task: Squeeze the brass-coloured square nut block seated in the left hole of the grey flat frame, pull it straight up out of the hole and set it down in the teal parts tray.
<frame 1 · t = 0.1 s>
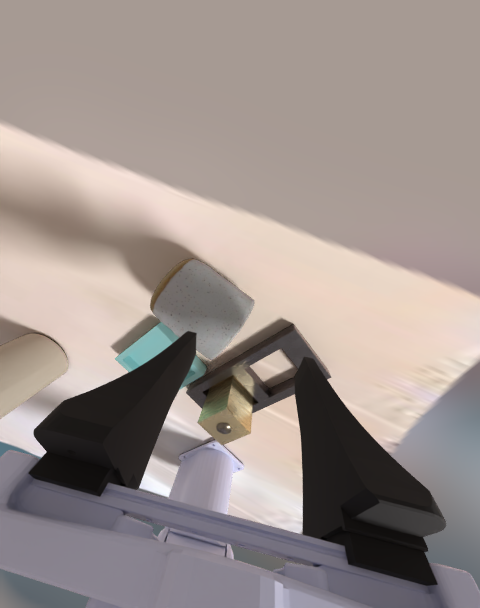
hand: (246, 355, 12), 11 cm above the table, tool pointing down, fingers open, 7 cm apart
parts tray: (164, 359, 27), on the table
grey flat frame: (253, 377, 26), on the table
ceramic mug: (208, 304, 23), on the table
travel mug: (47, 353, 30), on the table
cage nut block: (231, 388, 28), resting in grey flat frame
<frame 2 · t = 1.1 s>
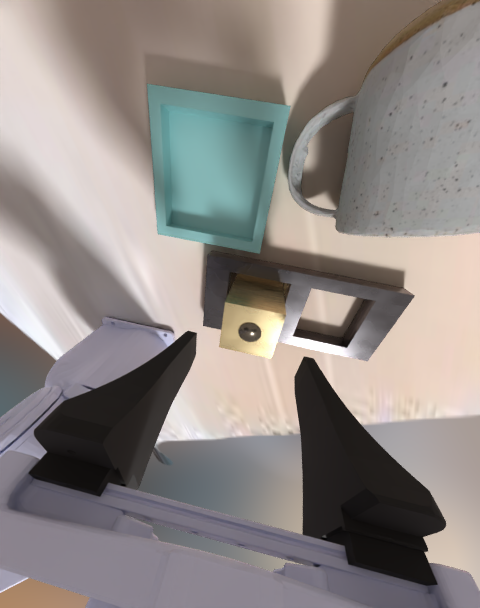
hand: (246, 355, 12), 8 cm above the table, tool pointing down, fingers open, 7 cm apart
parts tray: (217, 183, 15), on the table
grey flat frame: (293, 305, 20), on the table
ceramic mug: (364, 169, 14), on the table
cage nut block: (255, 296, 20), resting in grey flat frame
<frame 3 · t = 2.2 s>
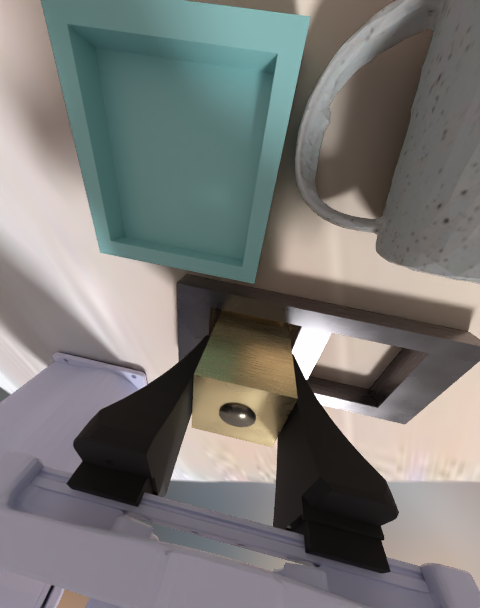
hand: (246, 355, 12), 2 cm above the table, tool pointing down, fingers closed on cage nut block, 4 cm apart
parts tray: (187, 174, 10), on the table
grey flat frame: (302, 347, 14), on the table
ceramic mug: (423, 150, 8), on the table
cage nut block: (249, 335, 14), resting in grey flat frame, touching gripper
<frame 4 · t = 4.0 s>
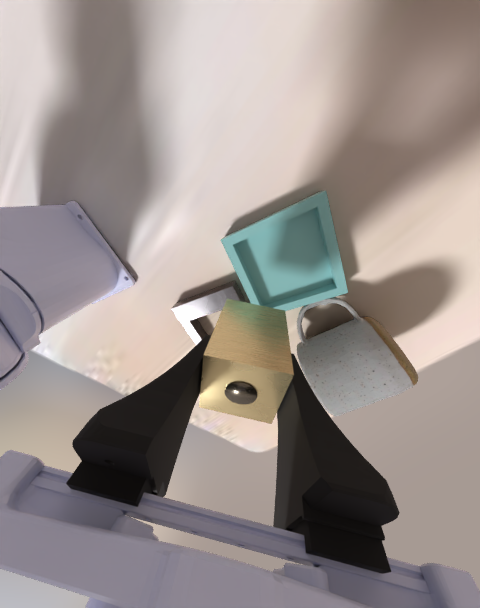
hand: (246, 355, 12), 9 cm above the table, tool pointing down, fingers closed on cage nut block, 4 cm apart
parts tray: (284, 261, 18), on the table
grey flat frame: (237, 348, 25), on the table
ceramic mug: (330, 331, 22), on the table
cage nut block: (250, 327, 15), point 6 cm above the table, touching gripper
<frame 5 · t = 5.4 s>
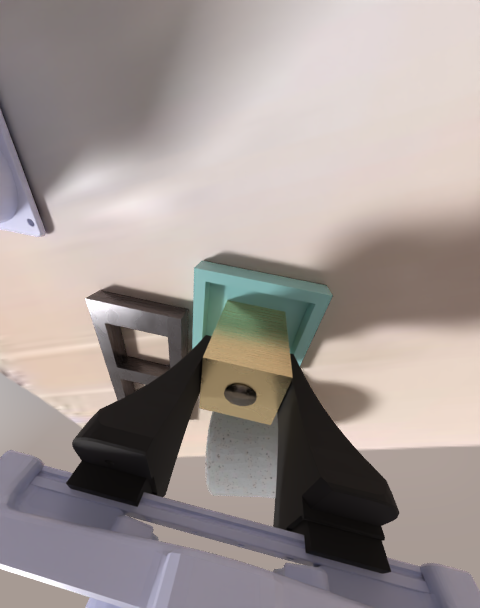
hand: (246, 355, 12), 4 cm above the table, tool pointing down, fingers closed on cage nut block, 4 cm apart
parts tray: (251, 322, 16), on the table
grey flat frame: (152, 369, 21), on the table
ceramic mug: (254, 396, 21), on the table
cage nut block: (250, 328, 15), resting on parts tray, touching gripper
when the fingers open (4 cm above the table, at t = 5.9 s): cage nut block stays where it is, resting on parts tray.
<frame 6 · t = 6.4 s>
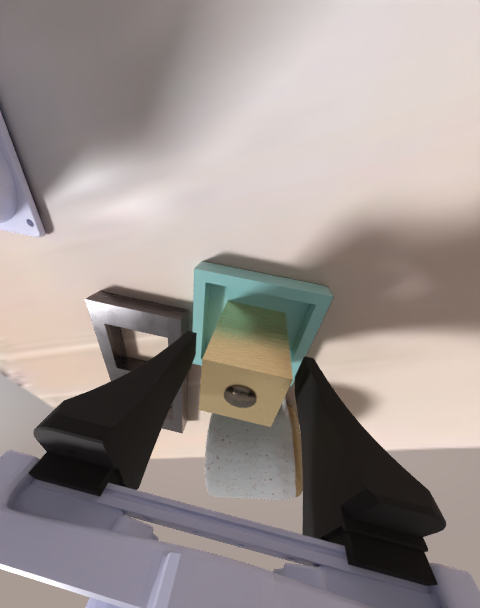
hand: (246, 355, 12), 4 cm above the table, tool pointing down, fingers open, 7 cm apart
parts tray: (251, 323, 16), on the table
grey flat frame: (152, 370, 21), on the table
ceramic mug: (254, 397, 21), on the table
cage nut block: (250, 329, 15), resting on parts tray
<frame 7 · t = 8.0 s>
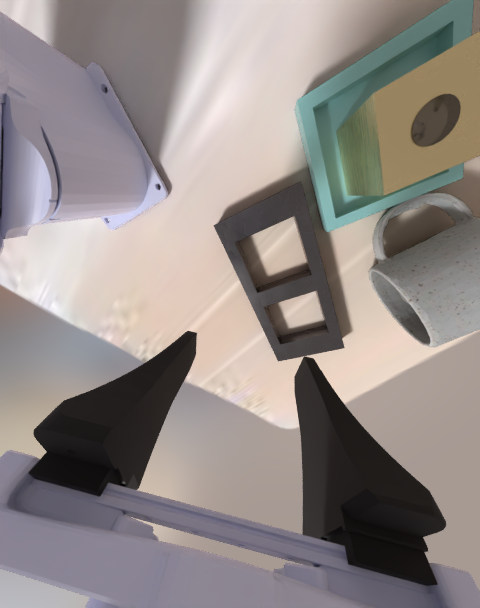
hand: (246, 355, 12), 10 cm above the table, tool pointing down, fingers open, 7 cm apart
parts tray: (371, 145, 14), on the table
grey flat frame: (285, 287, 21), on the table
ceramic mug: (407, 256, 18), on the table
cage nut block: (374, 149, 14), resting on parts tray
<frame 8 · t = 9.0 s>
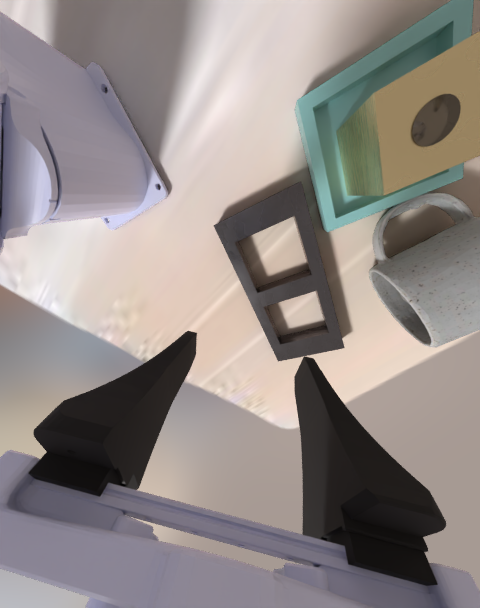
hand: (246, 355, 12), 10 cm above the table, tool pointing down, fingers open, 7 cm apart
parts tray: (371, 145, 14), on the table
grey flat frame: (285, 287, 21), on the table
ceramic mug: (408, 256, 18), on the table
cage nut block: (374, 149, 14), resting on parts tray
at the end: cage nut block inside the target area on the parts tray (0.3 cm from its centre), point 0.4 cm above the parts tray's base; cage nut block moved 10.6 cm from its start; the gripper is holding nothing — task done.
